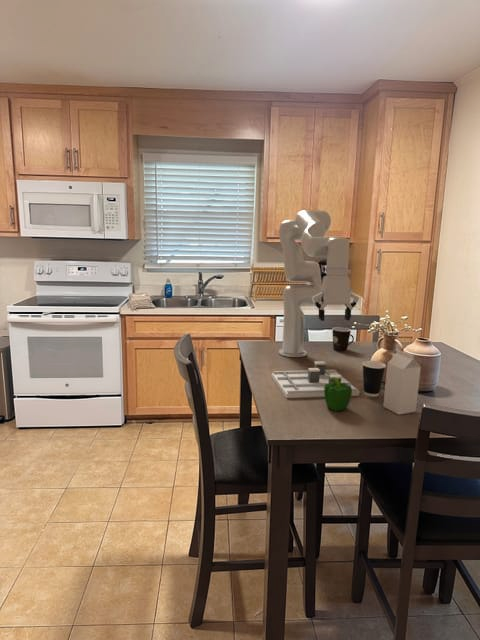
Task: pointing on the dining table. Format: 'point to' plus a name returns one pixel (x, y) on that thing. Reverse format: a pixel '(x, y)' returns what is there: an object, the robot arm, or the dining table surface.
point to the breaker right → (336, 377)
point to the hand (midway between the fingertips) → (334, 320)
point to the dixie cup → (372, 377)
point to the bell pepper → (337, 395)
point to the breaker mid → (313, 374)
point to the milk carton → (402, 383)
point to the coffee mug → (341, 338)
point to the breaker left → (320, 366)
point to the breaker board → (305, 383)
